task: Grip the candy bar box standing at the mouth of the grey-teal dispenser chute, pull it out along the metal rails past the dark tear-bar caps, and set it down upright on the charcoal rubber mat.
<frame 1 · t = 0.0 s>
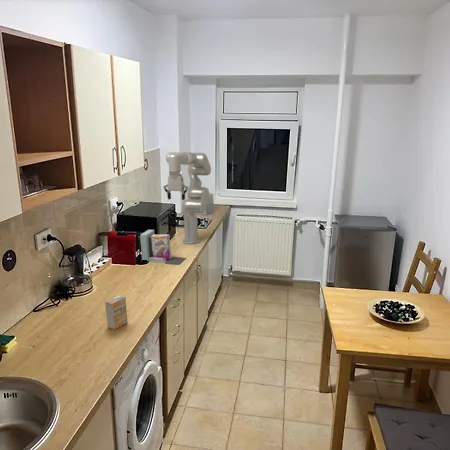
hand: (176, 199, 270), 37 cm above the worktop, tool pointing down, fingers open, 9 cm apart
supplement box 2: (202, 213, 385), on the worktop
supplement box: (117, 325, 187), on the worktop
mat: (175, 261, 265), on the worktop
dispenser: (149, 258, 270), on the worktop
candy bar box: (162, 259, 267), resting in dispenser, touching mat
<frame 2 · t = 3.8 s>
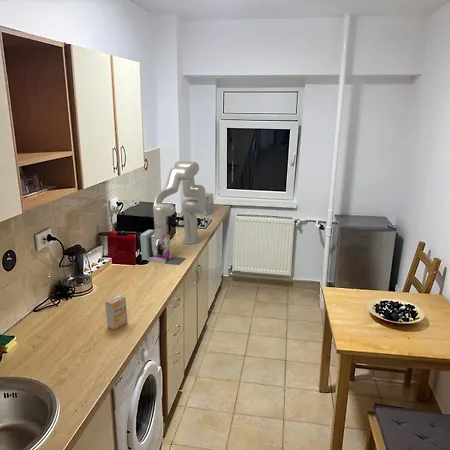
hand: (162, 252, 266), 5 cm above the worktop, tool pointing down, fingers closed on candy bar box, 5 cm apart
candy bar box: (162, 259, 267), resting in dispenser, touching gripper, mat
everything else where it was.
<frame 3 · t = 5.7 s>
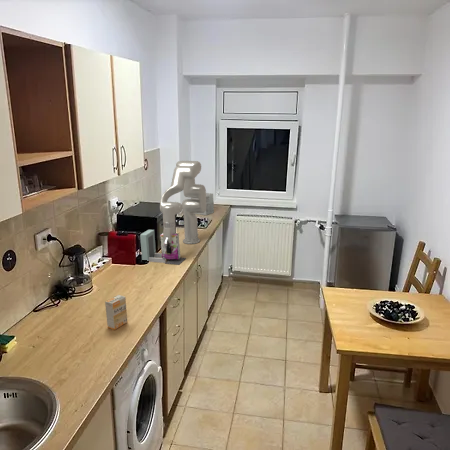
hand: (171, 251, 264), 6 cm above the worktop, tool pointing down, fingers closed on candy bar box, 5 cm apart
candy bar box: (171, 258, 265), point 1 cm above the worktop, touching gripper
everything else where it was.
when the fingers open (6 cm above the worktop, at t = 7.7 s): candy bar box stays where it is, resting on mat.
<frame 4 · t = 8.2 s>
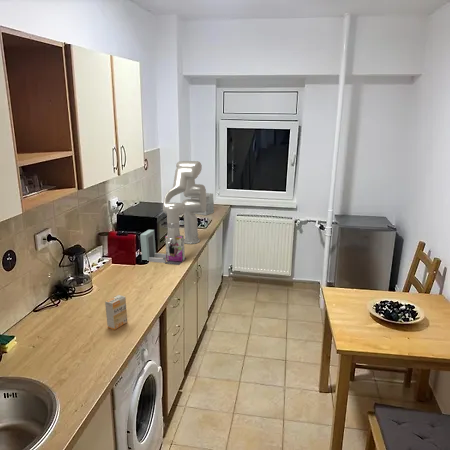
hand: (174, 251, 263), 7 cm above the worktop, tool pointing down, fingers open, 9 cm apart
candy bar box: (175, 260, 265), resting on mat
everything else where it was.
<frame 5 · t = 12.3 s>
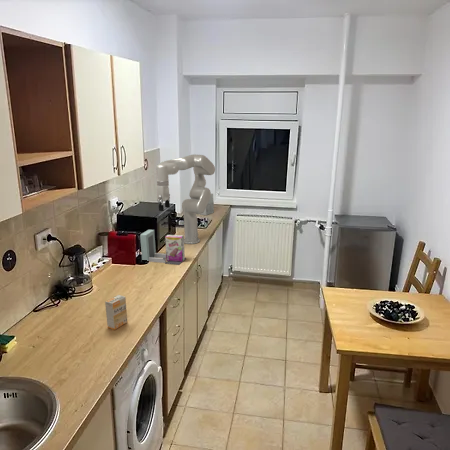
hand: (164, 209, 272), 30 cm above the worktop, tool pointing down, fingers open, 9 cm apart
nothing on the worktop moved.
at the end: candy bar box inside the target area (0.4 cm from its centre), resting on mat; candy bar box tilted 0°; the gripper is holding nothing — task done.
